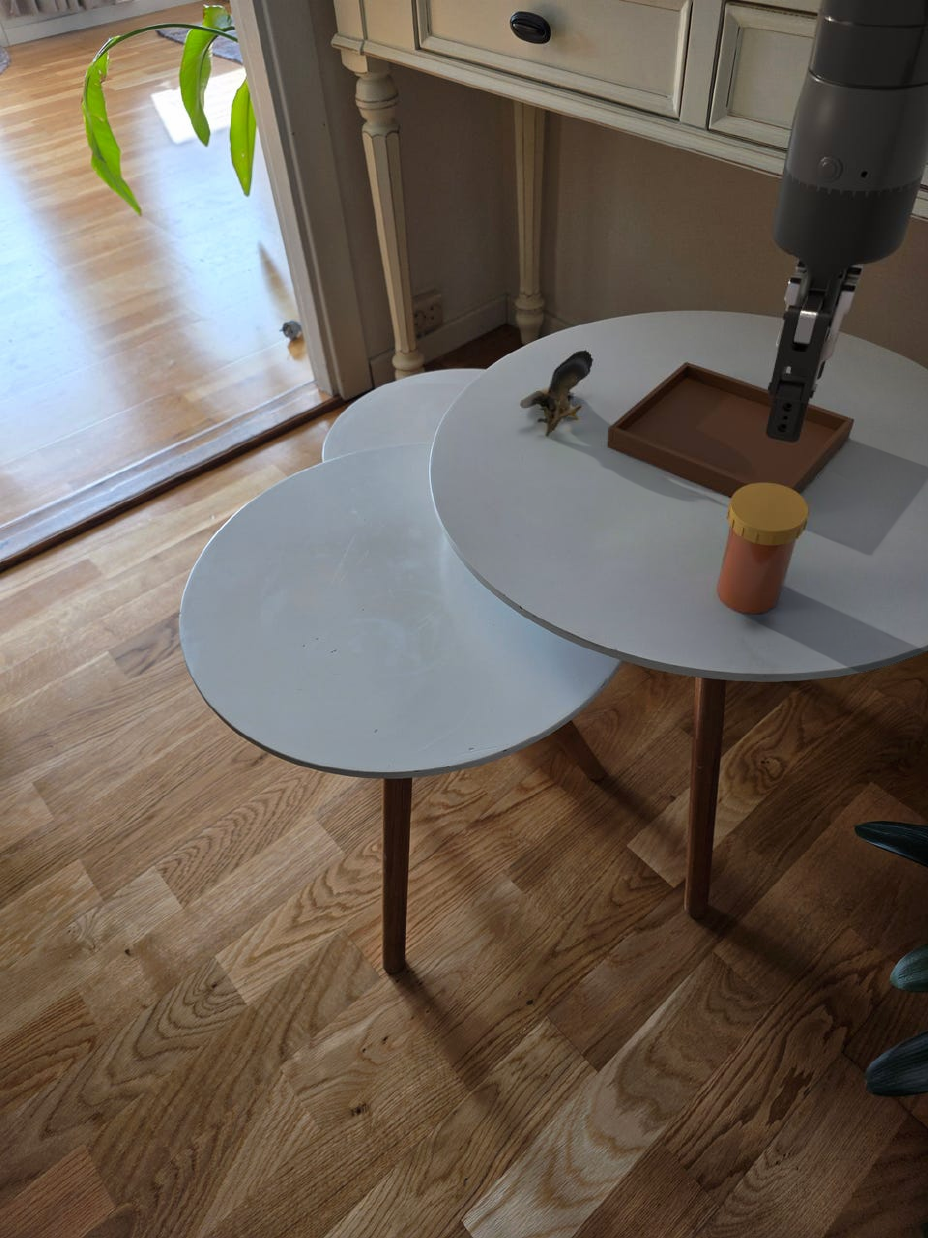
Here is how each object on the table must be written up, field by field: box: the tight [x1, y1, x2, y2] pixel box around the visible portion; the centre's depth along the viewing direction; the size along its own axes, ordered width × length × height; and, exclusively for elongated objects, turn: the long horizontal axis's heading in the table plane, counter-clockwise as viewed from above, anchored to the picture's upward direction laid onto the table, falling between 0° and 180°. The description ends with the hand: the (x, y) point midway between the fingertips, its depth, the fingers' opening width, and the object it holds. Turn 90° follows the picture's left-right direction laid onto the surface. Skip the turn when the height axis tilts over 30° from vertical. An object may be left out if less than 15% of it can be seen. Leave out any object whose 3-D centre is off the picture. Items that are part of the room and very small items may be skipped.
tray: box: [606, 361, 855, 499], centre depth 89 cm, size 19×15×2 cm
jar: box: [716, 525, 797, 615], centre depth 72 cm, size 5×5×9 cm
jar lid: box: [726, 483, 810, 546], centre depth 69 cm, size 6×6×2 cm
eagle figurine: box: [519, 350, 594, 437], centre depth 93 cm, size 8×7×9 cm
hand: (794, 405), depth 61 cm, fingers open, 7 cm apart
